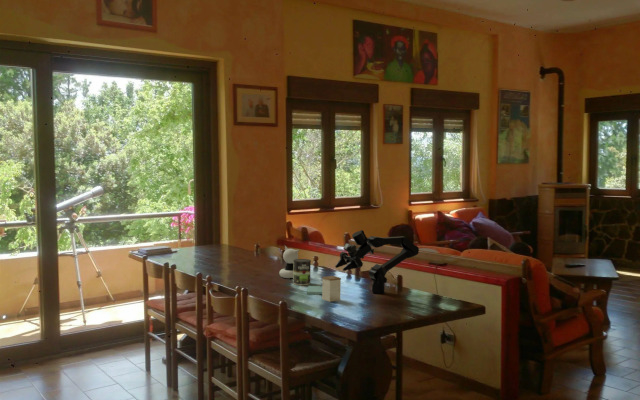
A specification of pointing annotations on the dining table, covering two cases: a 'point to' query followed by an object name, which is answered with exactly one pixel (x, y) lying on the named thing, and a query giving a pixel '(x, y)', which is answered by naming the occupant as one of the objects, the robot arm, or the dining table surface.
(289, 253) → the decorative figurine
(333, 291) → the beige rectangular block
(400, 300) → the dining table surface
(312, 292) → the base block
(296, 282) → the coffee can
